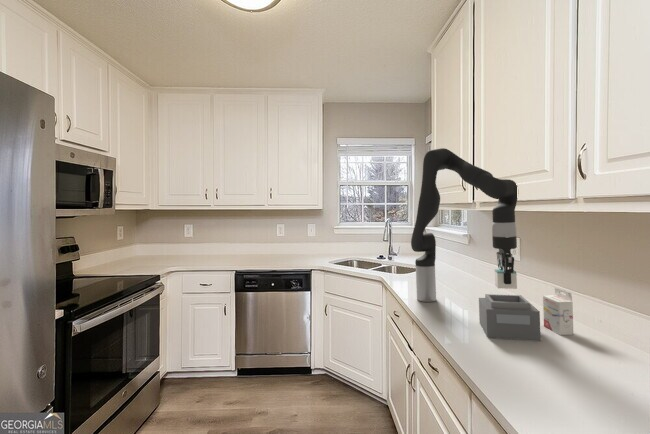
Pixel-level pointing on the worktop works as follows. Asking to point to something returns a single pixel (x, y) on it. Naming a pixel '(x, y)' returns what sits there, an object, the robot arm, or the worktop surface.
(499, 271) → the block
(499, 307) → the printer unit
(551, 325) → the ink cartridge box
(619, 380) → the worktop surface
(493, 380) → the worktop surface
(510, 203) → the robot arm
